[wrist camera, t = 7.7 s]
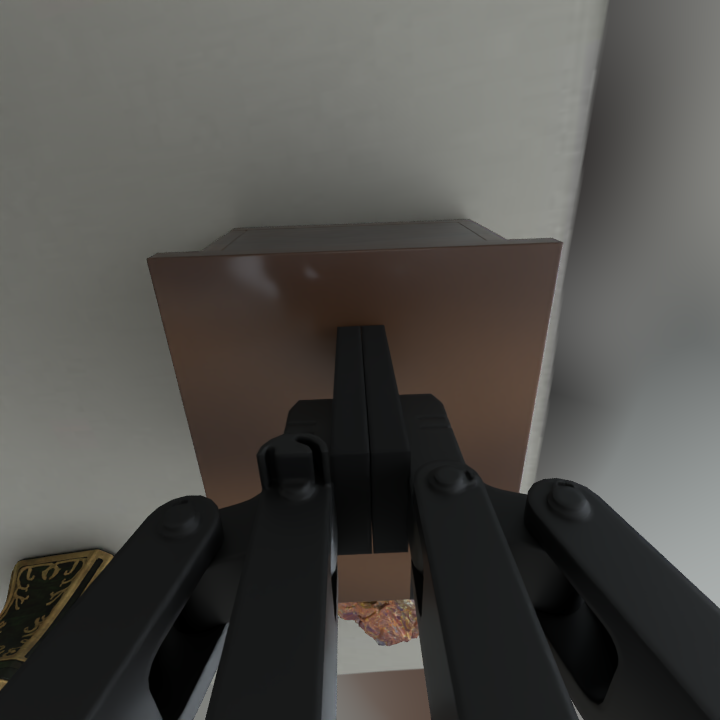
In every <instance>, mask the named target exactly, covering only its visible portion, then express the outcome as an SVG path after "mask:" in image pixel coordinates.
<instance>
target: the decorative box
mask: <svg viewBox="0 0 720 720" xmlns="http://www.w3.org/2000/svg"><path fill="white" fill-rule="evenodd" d="M112 558H113V555H111V554H109V553H106V552H104V551H101V550H98V549H95V550H89V551H82V552H75V553H69V554H62V555H56V556H49V557H42V558H36V559H29V560H22V561H18V563H17V564H16V565H15V567H14V569H13V571H12V574H11V579H10V585H9V590H8V595H7V600H6V603H5V606H4V608H3V610H2V612H1V613H0V690H1V689H2V688H3V687H4V685H5V684H6V683H7V682H8V681H9V680H10V678H11V677H12V676H13V675H14V674H15V672H16V671H17V670H18V669H19V668H20V667H21V665H22V664H23V663H24V662H25V661H26V660H27V658H28V657H29V656H30V655H31V654H32V652H33V651H34V650H35V649H36V648H37V647H38V645H39V644H40V643H41V642H42V641H43V640H44V638H45V637H46V636H47V635H48V634H49V632H50V631H51V630H52V629H53V628H54V627H55V625H56V624H57V623H58V622H59V621H60V620H61V618H62V617H63V616H64V615H65V614H66V612H67V611H68V610H69V609H70V608H71V607H72V605H73V604H74V603H75V602H76V601H77V600H78V598H79V597H80V596H81V595H82V594H83V592H84V591H85V590H86V589H87V588H88V587H89V585H90V584H91V583H92V582H93V581H94V580H95V578H96V577H97V576H98V575H99V574H100V572H101V571H102V570H103V569H104V568H105V567H106V565H107V564H108V563H109V562H110V561H111V560H112Z"/></svg>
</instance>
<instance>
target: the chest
mask: <svg viewBox="0 0 720 720" xmlns="http://www.w3.org/2000/svg"><path fill="white" fill-rule="evenodd" d="M484 240H507V239H505V238H503V237H502V236H500V235H498V234H496V233H494V232H493V231H491V230H489V229H487V228H485V227H483V226H482V225H480V224H478V223H476V222H474V221H472V220H470V219H464V220H437V221H410V222H384V223H357V224H331V225H304V226H277V227H251V228H234V229H232V230H231V231H229V232H228V233H226V234H225V235H224V236H222V237H221V238H219V239H218V240H216V241H215V242H213V243H212V244H211V245H209V246H208V247H206V248H205V249H203V250H202V251H222V250H248V249H274V248H300V247H326V246H353V245H379V244H405V243H431V242H457V241H484Z"/></svg>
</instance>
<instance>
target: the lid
mask: <svg viewBox="0 0 720 720" xmlns="http://www.w3.org/2000/svg"><path fill="white" fill-rule="evenodd" d="M562 248H563V242H561V241H558V240H556V239H553V238H536V239H510V240H484V241H457V242H431V243H405V244H379V245H353V246H326V247H300V248H274V249H248V250H222V251H195V252H169V253H156V254H154V255H152V256H151V257H149V258H147V263H148V267H149V271H150V275H151V279H152V283H153V286H154V290H155V294H156V298H157V302H158V306H159V310H160V314H161V318H162V322H163V326H164V330H165V334H166V338H167V342H168V346H169V350H170V354H171V358H172V362H173V366H174V370H175V374H176V378H177V382H178V386H179V390H180V394H181V397H182V401H183V405H184V409H185V413H186V417H187V421H188V425H189V429H190V433H191V437H192V441H193V445H194V449H195V453H196V457H197V461H198V465H199V469H200V473H201V477H202V481H203V485H204V489H205V493H206V497H207V498H209V499H212V500H213V502H214V503H215V504H216V505H217V506H218V509H221V508H224V507H228V506H231V505H235V504H238V503H241V502H244V501H247V500H249V499H251V498H253V497H255V496H256V495H258V494H260V493H261V492H262V486H261V480H260V475H259V469H258V463H257V457H256V454H257V453H258V451H259V449H260V448H261V446H262V445H264V444H265V443H266V442H268V441H269V440H270V439H272V438H275V437H277V436H280V435H282V434H284V430H285V426H286V421H287V417H288V412H289V410H290V409H291V408H292V407H293V406H294V405H295V404H296V403H297V402H298V401H299V400H313V399H333V389H334V372H335V356H336V339H337V327H344V326H360V328H361V326H370V325H384V326H385V331H386V336H387V340H388V345H389V350H390V355H391V359H392V364H393V369H394V373H395V378H396V383H397V388H398V392H399V395H404V394H429V393H431V394H432V395H434V396H435V397H436V398H437V399H438V400H439V401H441V402H442V403H443V405H444V408H445V411H446V413H447V417H448V419H449V421H450V424H451V427H452V429H453V432H454V435H455V437H456V440H457V442H458V445H459V448H460V450H461V453H462V456H463V458H464V461H465V464H467V465H468V466H470V467H471V468H472V469H474V470H475V471H476V472H477V473H478V475H479V476H480V477H481V479H482V481H483V483H485V484H488V485H490V486H492V487H495V488H498V489H502V490H506V491H511V492H516V493H520V488H521V482H522V476H523V471H524V465H525V459H526V454H527V448H528V442H529V436H530V431H531V425H532V419H533V414H534V408H535V402H536V396H537V391H538V385H539V379H540V374H541V368H542V362H543V357H544V351H545V345H546V339H547V334H548V328H549V322H550V317H551V311H552V305H553V300H554V294H555V288H556V282H557V277H558V271H559V265H560V260H561V254H562ZM361 342H362V337H361ZM371 524H372V522H371ZM337 567H338V603H346V602H367V601H387V600H408V599H410V580H411V553H410V547H409V546H408V552H402V553H379V554H374V553H373V538H372V554H357V555H337Z"/></svg>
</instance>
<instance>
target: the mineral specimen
mask: <svg viewBox="0 0 720 720" xmlns="http://www.w3.org/2000/svg"><path fill="white" fill-rule="evenodd" d="M338 615H339V616H340V618H342V619H344V620H355V622H356V623H358V624H359V627H361V628H362V629H363V630H364V631H365V633H367V634H368V635H369V636H370V637H373V638H374V640H376V642H377V643H378V645H382V646H384V645H386V646H391V645H394V644H397V643H400V642H403V641H405V642H408V641H409V640H411V638H417V637H418V635H419V630H418V623H417V616H416V609H415V602H414V600H410V599H408V600H387V601H367V602H346V603H338Z"/></svg>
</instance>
